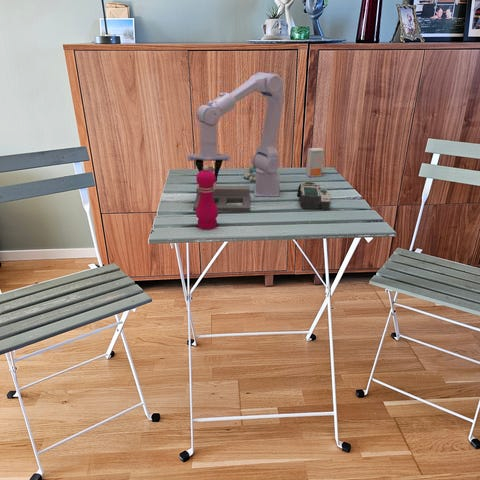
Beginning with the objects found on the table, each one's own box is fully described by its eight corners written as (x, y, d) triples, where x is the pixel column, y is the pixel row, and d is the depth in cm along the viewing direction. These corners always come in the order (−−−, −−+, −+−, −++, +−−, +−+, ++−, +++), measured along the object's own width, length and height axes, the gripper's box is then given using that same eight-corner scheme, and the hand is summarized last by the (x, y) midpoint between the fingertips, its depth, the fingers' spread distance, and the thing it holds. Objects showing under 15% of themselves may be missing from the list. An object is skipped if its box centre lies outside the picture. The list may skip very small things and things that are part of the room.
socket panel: (249, 195, 156) (249, 185, 155) (249, 211, 142) (250, 200, 140) (197, 195, 157) (197, 184, 155) (193, 211, 142) (192, 199, 140)
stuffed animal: (239, 170, 169) (245, 157, 178) (240, 185, 173) (246, 171, 183) (265, 172, 167) (269, 159, 176) (264, 187, 171) (269, 173, 180)
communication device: (324, 189, 165) (327, 168, 162) (330, 211, 144) (333, 187, 140) (295, 188, 166) (297, 167, 163) (296, 209, 145) (298, 186, 141)
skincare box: (308, 177, 178) (311, 150, 173) (305, 174, 182) (307, 148, 176) (321, 176, 179) (324, 149, 174) (317, 173, 183) (320, 147, 178)
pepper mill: (201, 231, 127) (199, 170, 118) (192, 223, 133) (190, 164, 124) (222, 227, 130) (221, 167, 121) (212, 219, 136) (211, 161, 127)
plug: (215, 185, 147) (215, 166, 143) (214, 190, 142) (214, 171, 139) (204, 185, 147) (204, 166, 143) (203, 190, 142) (202, 170, 139)
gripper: (185, 144, 134) (187, 184, 140) (229, 145, 134) (229, 184, 140) (188, 140, 140) (190, 177, 146) (230, 140, 140) (230, 178, 146)
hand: (209, 180), depth 143 cm, fingers closed on plug, 4 cm apart
